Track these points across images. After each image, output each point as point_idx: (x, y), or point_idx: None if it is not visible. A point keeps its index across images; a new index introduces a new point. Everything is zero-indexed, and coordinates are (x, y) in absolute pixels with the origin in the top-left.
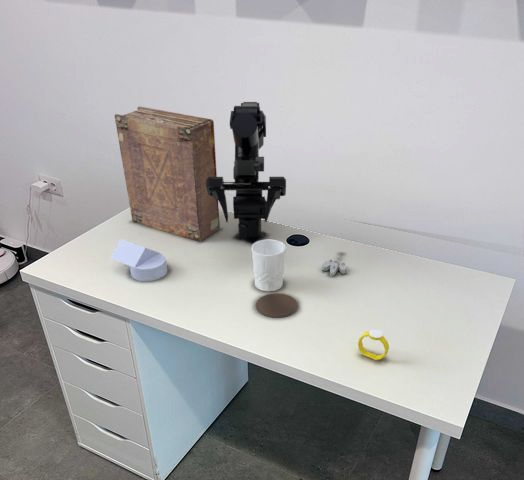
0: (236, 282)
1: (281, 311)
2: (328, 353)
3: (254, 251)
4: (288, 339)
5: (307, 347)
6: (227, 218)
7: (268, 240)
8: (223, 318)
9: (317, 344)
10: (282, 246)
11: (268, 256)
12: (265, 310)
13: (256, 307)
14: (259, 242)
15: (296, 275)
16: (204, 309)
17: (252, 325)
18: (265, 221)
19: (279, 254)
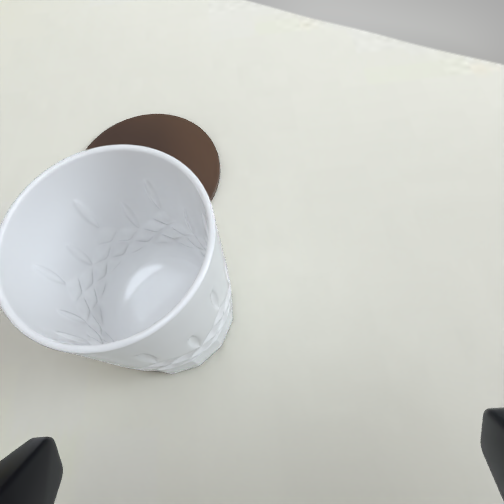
0: (316, 318)
1: (131, 139)
2: (30, 10)
3: (192, 177)
4: (122, 40)
5: (77, 21)
6: (499, 426)
7: (96, 346)
8: (320, 96)
9: (50, 33)
10: (15, 296)
11: (112, 150)
12: (184, 139)
13: (215, 151)
14: (164, 317)
15: (46, 401)
16: (398, 131)
17: (224, 78)
18: (49, 444)
19: (47, 174)
